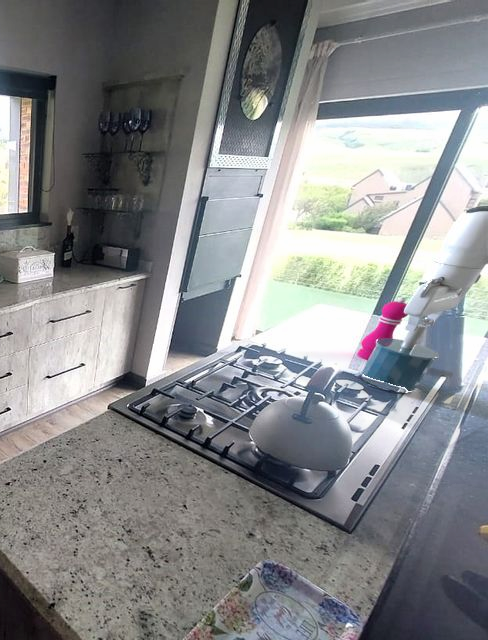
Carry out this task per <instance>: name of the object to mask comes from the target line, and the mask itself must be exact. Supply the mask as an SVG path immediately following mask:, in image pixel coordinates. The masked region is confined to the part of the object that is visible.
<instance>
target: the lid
mask: <svg viewBox="0 0 488 640" xmlns="http://www.w3.org/2000/svg"><path fill="white" fill-rule="evenodd" d="M418 325H419V326H418V328H417V329H416V330H415V331H408V332H407V334H406V336H405V337H404V339H398V338H393V339H391V338H380V339H378V340H377V341H376V344H377V345H378V346H379V347H381V348H383V349H385V350H387V351H389V352H392V353H395V354H398V355H402V356H405V357H410V358H415V359H421V360H434V361H435V360H438V358H439V356H440V354H439V353H438V352H437V351H435V350H433V349H432V348H430V347H428V346H425V345H422V344H419V343H418V342H419V341H420V339H421V338H422V336H423V334H424V333H425V331H426V329H428V328H427V327H428V326H425V325H422V323H419V324H418Z"/></svg>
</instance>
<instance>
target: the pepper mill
mask: <svg viewBox="0 0 488 640" xmlns="http://www.w3.org/2000/svg"><path fill="white" fill-rule="evenodd" d="M406 301H407V300H406V298H405V297H404V296H400V297H398V298H397V300H396V301H395V300H394V301H390V302H388V303H386V304H384V305H383V307H382V309H381V313H382V314H381V315H380V317H379V318H378V321H379V323H378V325H377V326H376V328H375V329H374V330H372V331H371V332H370V333H369V334H367V335H366V336H365V337H364V338H363V339H362V340H361V343H360V344H361V348H359V350H358V352H357V356H358V357H359V358H361V359H364V360H367V361H368V359H369V357H370V355H371V354H372V352H373V350H374V348H375V347H376V345H377V344H376V341H377V340H378V339H380V338H391V339H394V336H393V335H394V332H395V330H396V328H397V327H398V325H399V326H400V325H401V323H402V322H403V319H404V318H406V317H407V316H408V314H405V313H404V309H405V307H406V305H407V304H408V303H406Z"/></svg>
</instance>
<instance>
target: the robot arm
mask: <svg viewBox="0 0 488 640" xmlns="http://www.w3.org/2000/svg"><path fill="white" fill-rule="evenodd" d="M486 265H488V205H481V206H479V205H478V206H475V207H472V208H469V209H467V210H466V211H464V212H463V213H462V214H461V215H460V216H459V217H458V219H457V220H456V221H455V222H454V224H453V225H452V226H451V228H450V229H449V231H448V233H447V235H446V236H445V238H444V240H443V241H442V244H441V248H440V251H439V252H438V253H437V255H435V257H433V259H432V260H431V262H430V264H429V265H428V266H427V267H428V268H426V271H425V273H424V274H423V276H422V280H423V281H425V282H426V283H424V284H421V285H420V286H419V287H418V288H417V289H416V290H415V292H414V293H413V294H412V296H411V297H410V299H409V300H408V303H406V304H407V305H406V307H405V309H404V313H405V314H408V315H409V316H408V315H407V316H408V320H407V324H406V326H405V328H404V330H405V331H408V332H409V331H415V330H416V329H417V328H418V326H419V325H418V324H420V322H421V320H423V321H422V322H421V324H422V325H425V326H427V327H432V326H434V324H435V323H436V321H437V320H438V319H439V318H440V317H441V316H442V315H443V314H444V312H446V311H449V310H453V309H455V308H456V307H457V306H458V305H459V304H460V303H461V301H462V300H463V299H464V297H465V296H466V295H467V294H468V292H469V291H470V289H471V288H472V287H473V285H475V284H477V283H478V282H479V281H480V279H481V278H482V274H481V273H482V271H483V269H484V268H485V267H486ZM424 317H425V318H424ZM423 318H424V319H423Z"/></svg>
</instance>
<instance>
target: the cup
mask: <svg viewBox="0 0 488 640" xmlns="http://www.w3.org/2000/svg"><path fill="white" fill-rule="evenodd" d="M434 361H435V360H421V359H415V358H410V357H405V356H402V355H398V354H395V353H392V352H389V351H387V350H385V349H383V348H381V347H379V346H378V345H376V347H375V348H374V350H373V352H372V354H371V355H370V357H369V359H368V360H367V361H366V363H365V365H364V366H363V368H362V370H361V371H360V374H361V373H362V374H364V375H365V376H368V377H370V378H373V379H376V380H380V381H384V382H387V383H390V384H393V385H396V386H401V387H405V388H406V389H407V390H408V391H413V390H414V391H415V390H416V389H417V387H418V386H419V384H420V382H421V381H422V380H423V378H424V376H425V374H426V373H427V371H428V370H429V368H430V367H431V365H432V364H433V362H434ZM414 391H413V392H414Z"/></svg>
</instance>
